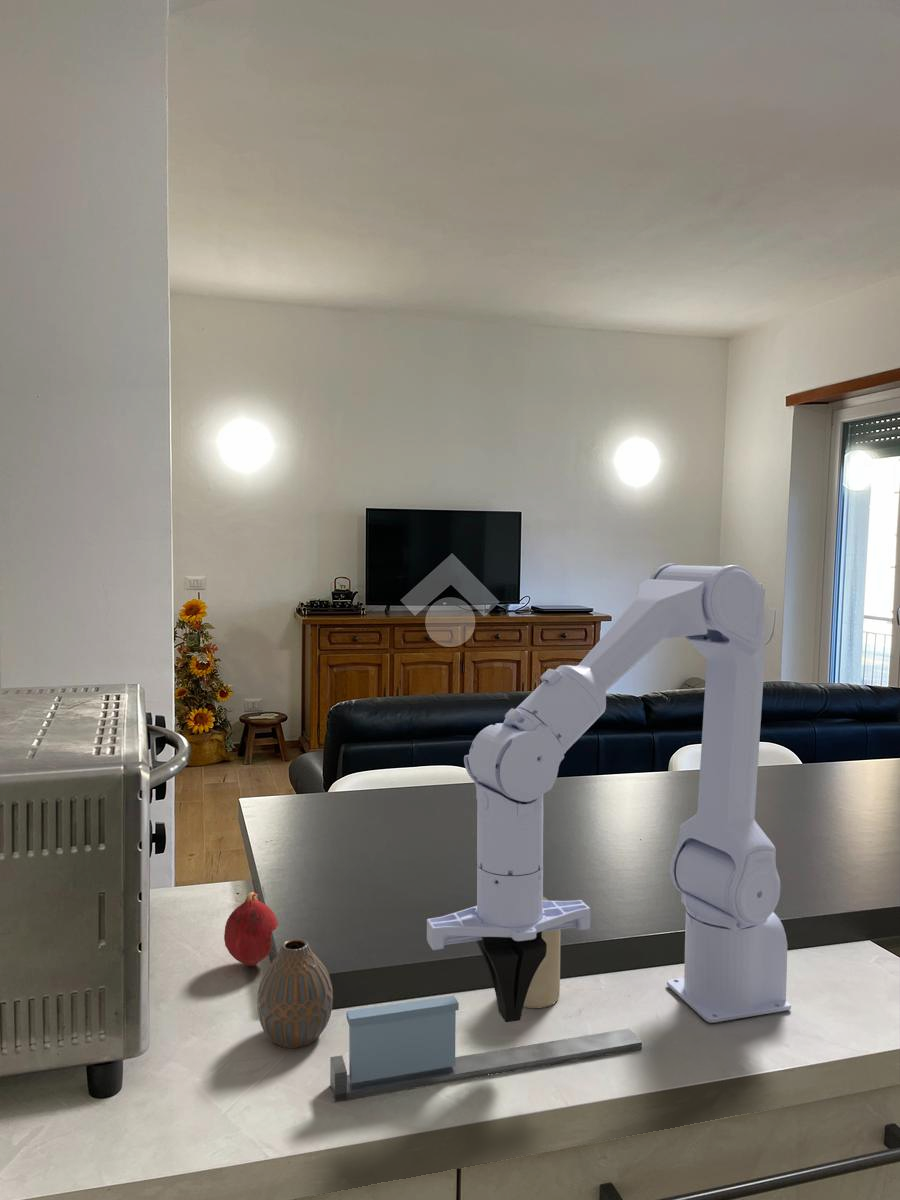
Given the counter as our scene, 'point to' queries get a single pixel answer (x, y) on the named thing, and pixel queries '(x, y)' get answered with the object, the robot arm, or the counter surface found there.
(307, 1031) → the vase
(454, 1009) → the panel
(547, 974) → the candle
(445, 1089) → the counter surface
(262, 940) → the onion
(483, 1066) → the rail
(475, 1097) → the counter surface
